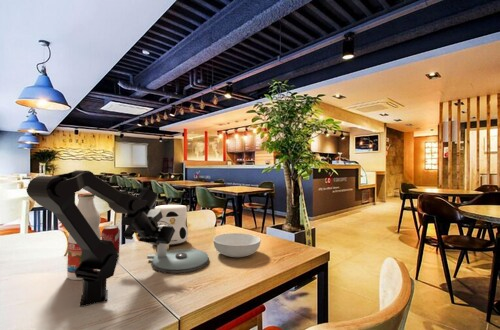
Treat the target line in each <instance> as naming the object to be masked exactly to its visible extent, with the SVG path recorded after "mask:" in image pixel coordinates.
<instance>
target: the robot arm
mask: <svg viewBox="0 0 500 330" xmlns="http://www.w3.org/2000/svg"><path fill="white" fill-rule="evenodd" d="M81 190H85V191H87V193H92V194H93V195H95V196H94V197H97V198H99V199H100V200H103V201H104V202H106V203H107V205H108V207H109V208H110V209H111V210H112V211H113V212H115V213H117V214H125V215H124V216H122V220H121V225H122V226H126V229H125V231H124V232H123V237H124V238H125V240H133V239H134V234H137V235H136V237H137V238H138V239H139V240H138V241H139V242H142V243H145V244H146V243H147V244H151V245H155V246H157V245H159V243H162V244H169V243H170V241H171V239H172V236H173V234H174V232H175V229H174V228H173V226H163V227H162V229H161V228H160V227H157V226H158V223H157V222H158V221H159V220H160V219H162V218H163V216H162V212H161V210H158V209H155V208H153V206H154V205H155V203H156V202H157V200H158V198H159V195H158V193H157V192H155V191H154V190H151V189H150V188H149V187H142V189H141V191H140V193H139V194H138V196H135V195H133V194H130V193H126V192H122V191H119V190H118V189H117V188H116V187H114V186H112V185H111V184H109V183H107V182H106V181H104V180H103V179H101V178H100V177H98V176H97V175H95V174H94V172H92V171H91V170H81V169H77V170H76V169H75V170H73V171H70V172H67V173H60V174H55V175H50V176H49V175H40V176H38V175H37V176H35V177H34V178H32V179H31V180H30V181H29V182H28V184H27V188H26V194H27V195H28V197H29V198H30V199H32V200H33V201H34V202H35V203H37V204H38V205H39V206H41V207H42V208H44V209H46V210H48V211H49V212H51V213H53V214H54V215H55V217H56V219H57V220H58V221H59V222H60V224H61V225H62V226H63V228H64V229H65V230H66V231H67V233H68V235H69V234H70V235H71V236H72V238H73V239H74V240H75V242H76V243H77V244H78V245H79V247H80V248H81V250H82V253H81V258H82V260H83V261H82V262H81V263H80V265H79V266H78V268H77V269H76V270H75V275H76V278H83V280H82V294H81V298H80V302H79V307H85V306H89V305H93V304H98V303H104V302H107V301H108V299H109V297H108V293H109V291H108V289H107V279H109V278H111V277H113V276H114V274H115V271H116V268H117V264H118V259H119V254H118V253H117V252H116V251H117V250H118V249H116V248H115V247H114V244H113V242H112V241H108V240H100V239H99V238H98V236H97V235H96V233H95V232H94V230H93V229H92V227H91V226H90V225H89V223H88V222H87V220H86V219H85V217H84V216H83V214H82V213H81V212H80V210H79V209H78V207H77V204H76V193H77V192H80V191H81ZM93 269H98V270H99V271H97V270H93Z"/></svg>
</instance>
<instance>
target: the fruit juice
mask: <svg viewBox="0 0 500 330" xmlns="http://www.w3.org/2000/svg"><path fill="white" fill-rule="evenodd" d="M95 197H96V196H95V195H93V194H92V193H90V192H81V193H77V199H78V203H77V204H76V206H77V207H78V209H79V210H80V212H81V213H82V214H83V216H84V217H85V219H86V220H87V222H88V223H89V225H90V226H91V227H92V229H93V230H94V232H95V233H96V235H97V236H98V238H99V239H100V240H101V238H102V231H101V229H100V223H101V221H102V218H101V217H102V216H101V214H100V212H99V211H98V209H97V208H96V204H95V200H94V198H95ZM81 253H82V250H81V248H80V247H79V245H78V244H77V243H76V242H75V240H74V239H73V238H72V236H71V235H70V234H69V233H68V237H67V266H66V267H67V268H66V269H67V272H66V275H67V278H68V279H69V280H70V281H71V280H72V281H79V280H80V281H81V280H82V281H83V278H76V275H75V270H76V269H77V268H78V266H79V265H80V263H81V262H82V261H83V260H82V258H81ZM93 270H97V271H100V270H98V269H93Z"/></svg>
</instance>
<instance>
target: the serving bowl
mask: <svg viewBox="0 0 500 330" xmlns="http://www.w3.org/2000/svg"><path fill="white" fill-rule="evenodd" d="M212 240H213V245H214V248H215V250H216V252H218V253H219V254H221V255H224V256H226V257H231V258H242V257H243V258H244V257H247V256H251V255H253V254H255V253H256V252H257V251H258V250H259V248H260V246H261V238H260V237H259V236H258V235H254V234H250V233H241V232H232V233H231V232H230V233H229V232H228V233H227V232H226V233H222V234H218V235H216V236H214V237H213V239H212Z"/></svg>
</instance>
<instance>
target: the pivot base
mask: <svg viewBox="0 0 500 330" xmlns="http://www.w3.org/2000/svg"><path fill="white" fill-rule="evenodd" d="M169 249H170V246H169V244H167V251H169ZM175 257H176V258H185V257H187V254H186V253H178V254H176V255H175ZM209 264H210V258H209V256H208V260H207V262H206V263H204V264H203V265H201V266H198V267H195V268H191V269H185V270H165V269H161V268H158V267H156V266H154V264H153V260H152V261H151V264H150V265H151V269H153V270H154V271H156V272H158V273H162V274H168V275H170V274H171V275H179V274H181V275H182V274H188V273H193V272H197V271H200V270H202V269H204V268H205V267H207V266H208V265H209Z"/></svg>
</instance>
